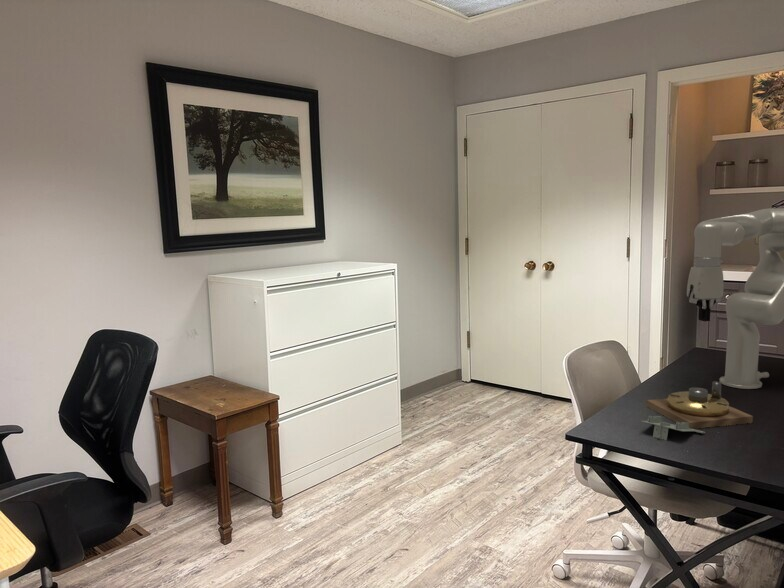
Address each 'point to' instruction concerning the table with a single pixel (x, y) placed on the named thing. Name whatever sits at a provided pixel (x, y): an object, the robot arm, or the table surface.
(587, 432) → the table surface
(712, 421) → the base plate
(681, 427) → the metal bracket
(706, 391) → the rotary dial
